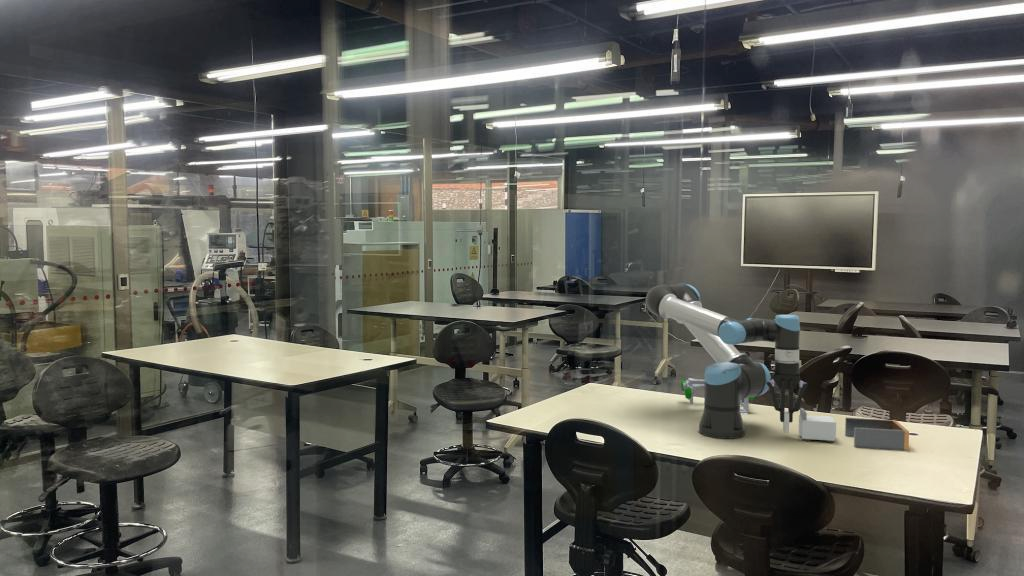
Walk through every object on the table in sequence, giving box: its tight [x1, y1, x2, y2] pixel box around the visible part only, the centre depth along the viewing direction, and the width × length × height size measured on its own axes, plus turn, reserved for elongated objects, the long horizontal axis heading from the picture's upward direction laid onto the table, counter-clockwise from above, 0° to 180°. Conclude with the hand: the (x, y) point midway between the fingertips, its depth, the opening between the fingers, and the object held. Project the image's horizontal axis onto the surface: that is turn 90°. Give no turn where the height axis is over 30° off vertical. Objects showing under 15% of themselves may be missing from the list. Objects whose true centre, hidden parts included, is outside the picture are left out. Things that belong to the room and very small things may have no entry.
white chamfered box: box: [798, 407, 837, 444], centre depth 224 cm, size 10×8×9 cm
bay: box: [844, 417, 910, 452], centre depth 220 cm, size 15×14×6 cm
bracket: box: [680, 377, 755, 414], centre depth 269 cm, size 19×25×10 cm
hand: (786, 431), depth 227 cm, fingers closed
